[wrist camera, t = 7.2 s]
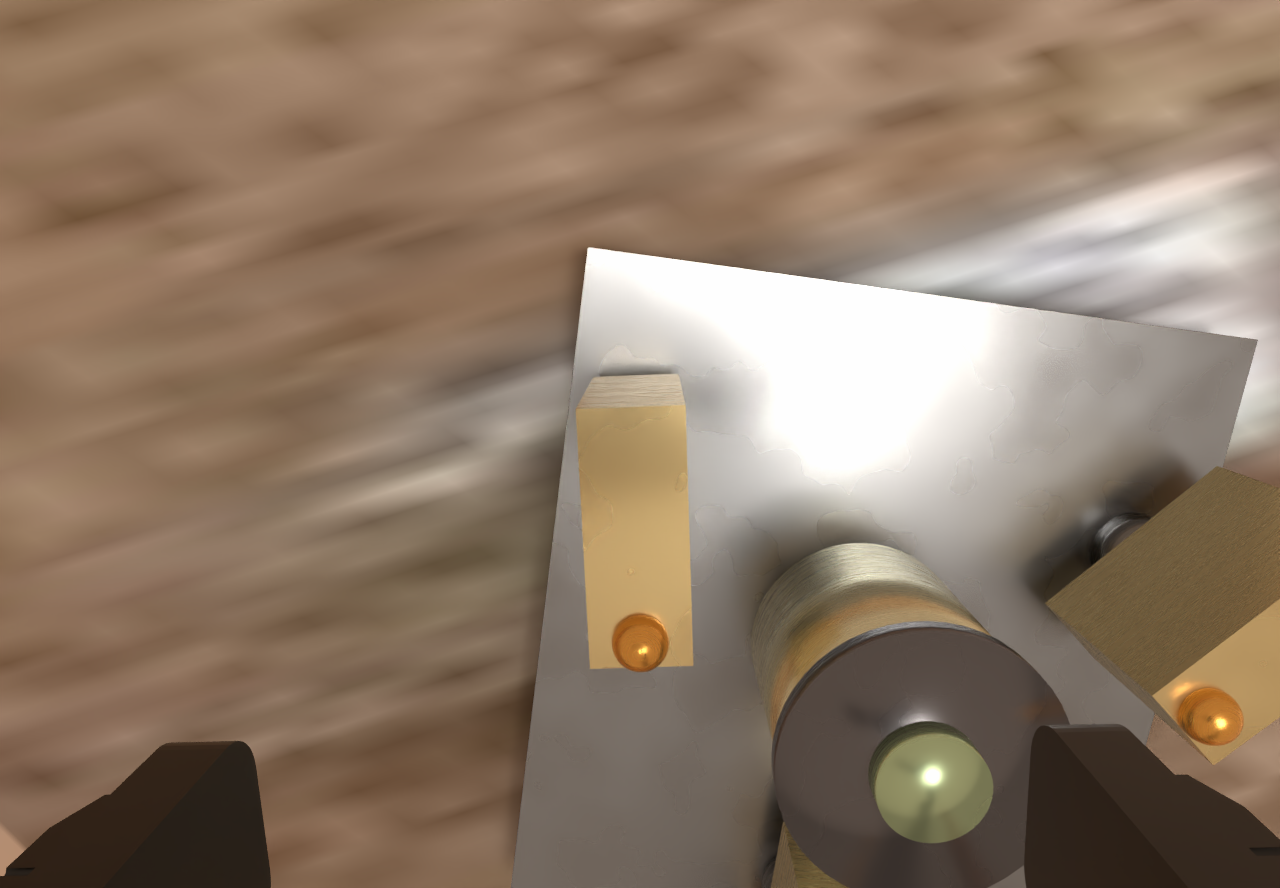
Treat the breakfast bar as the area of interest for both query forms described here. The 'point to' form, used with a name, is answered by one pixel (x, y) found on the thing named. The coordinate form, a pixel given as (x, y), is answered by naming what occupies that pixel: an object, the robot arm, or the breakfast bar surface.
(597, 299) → the plate
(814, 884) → the block with orange knob
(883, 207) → the breakfast bar surface
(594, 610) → the cream rectangular block
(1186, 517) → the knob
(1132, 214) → the breakfast bar surface
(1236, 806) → the robot arm
